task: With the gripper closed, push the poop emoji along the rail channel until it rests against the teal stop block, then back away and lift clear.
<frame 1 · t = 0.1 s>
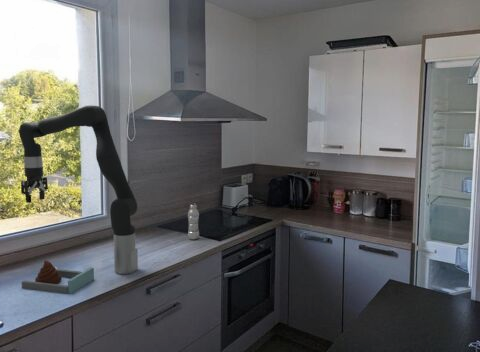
hand: (35, 201, 191), 29 cm above the worktop, tool pointing down, fingers open, 8 cm apart
channel: (57, 282, 170), on the worktop
plastic bottle: (193, 239, 234), on the worktop
poop emoji: (48, 282, 171), on the worktop
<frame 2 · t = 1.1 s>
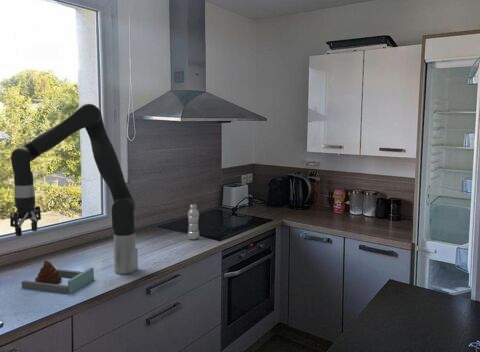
hand: (26, 233, 173), 19 cm above the worktop, tool pointing down, fingers open, 8 cm apart
nothing on the worktop moved.
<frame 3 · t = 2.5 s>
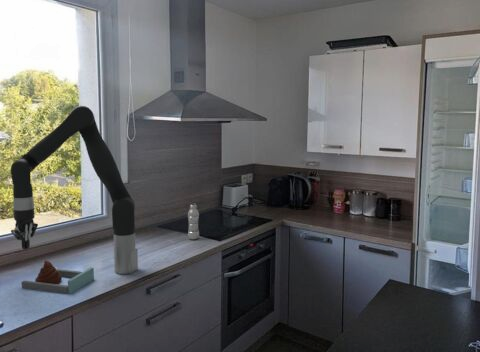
hand: (25, 248, 171), 13 cm above the worktop, tool pointing down, fingers closed
nothing on the worktop moved.
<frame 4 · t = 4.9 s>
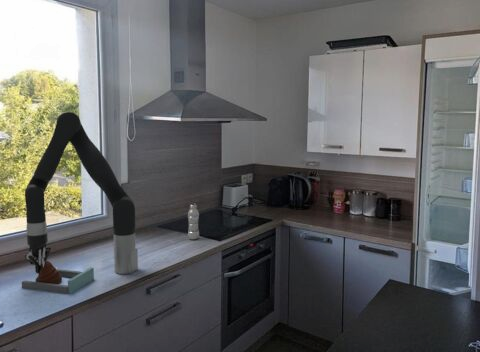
hand: (39, 272, 171), 3 cm above the worktop, tool pointing down, fingers closed
poop emoji: (49, 282, 170), on the worktop, touching gripper
everything else where it was.
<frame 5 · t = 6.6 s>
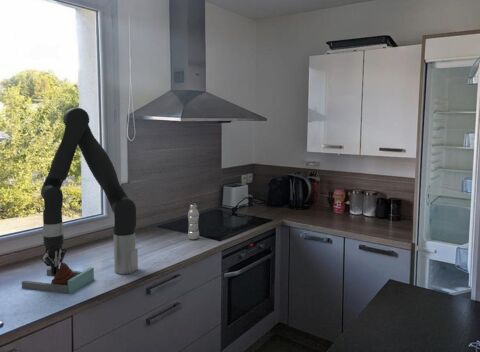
hand: (55, 274, 169), 4 cm above the worktop, tool pointing down, fingers closed
poop emoji: (64, 284, 168), on the worktop, touching gripper
everything else where it was.
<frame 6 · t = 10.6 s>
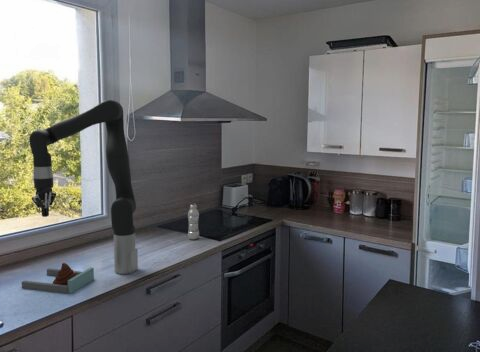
hand: (45, 216, 179), 25 cm above the worktop, tool pointing down, fingers closed
poop emoji: (66, 285, 168), on the worktop
everything else where it was.
at the end: poop emoji 1.0 cm from the target spot, on the worktop; poop emoji tilted 0°; poop emoji moved 9.0 cm from its start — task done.
